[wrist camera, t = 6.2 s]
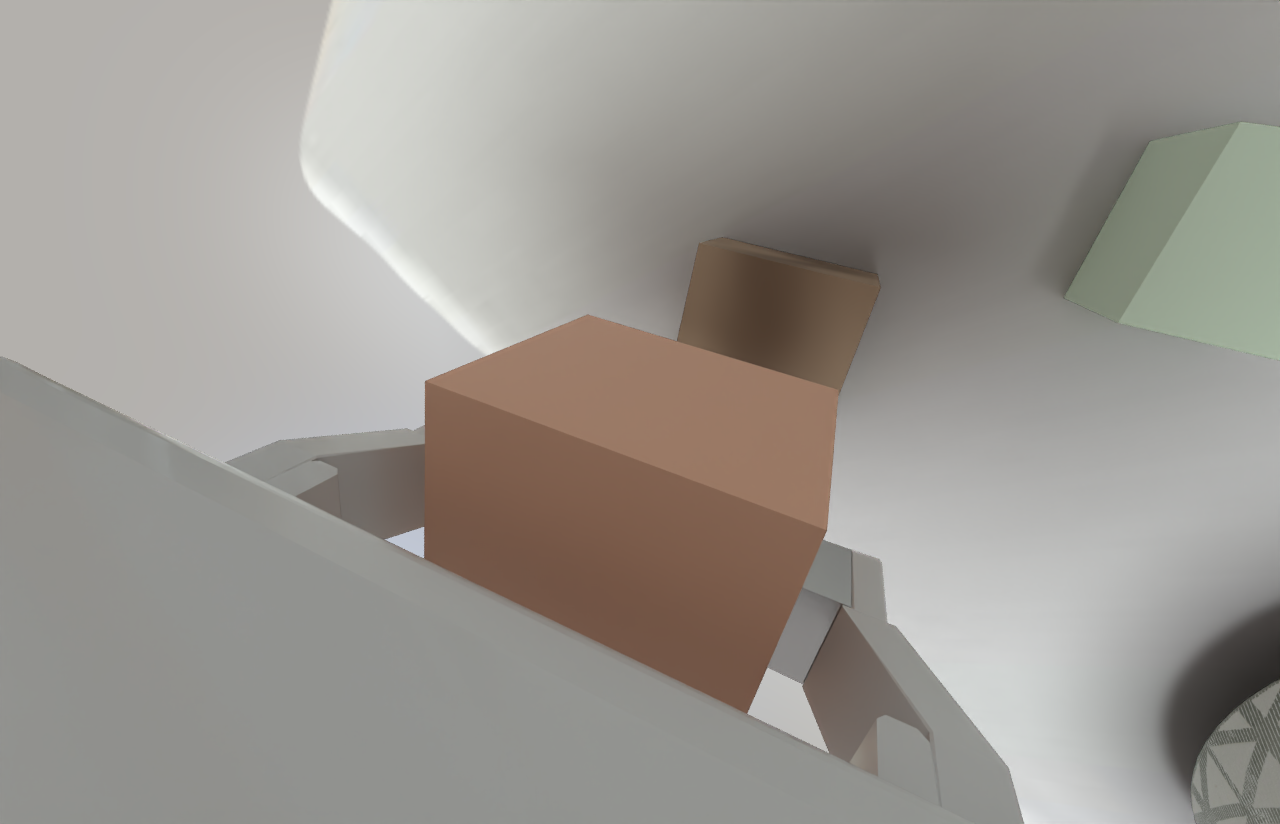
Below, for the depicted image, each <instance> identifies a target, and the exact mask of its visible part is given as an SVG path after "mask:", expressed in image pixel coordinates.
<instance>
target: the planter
mask: <svg viewBox="0 0 1280 824" xmlns="http://www.w3.org/2000/svg"><path fill="white" fill-rule="evenodd" d="M1191 803H1192V809H1193V813H1194V818H1195V822H1196V824H1280V679H1279V680H1277V681H1275V682H1273V683H1271V684H1269V685H1268V686H1266V687H1265V688H1263V689H1262V690H1260V691H1258V692H1257V693H1255V694H1254V695H1252V696H1251V697H1249V698H1248V699H1247V700H1245V701H1244V702H1243V703H1242V704H1240V705H1239V706H1238V707H1237V708H1235V709H1234V710H1233V711H1232V712H1231V713H1230V714H1229V715H1228V716H1227V717H1226V718H1225V719H1224V720H1223V721H1222V722H1221V723H1220V724H1219V725H1218V726H1217V727H1216V728H1215V730H1214V731H1213V732H1212V734H1211V735H1210V736H1209V738H1208V739H1207V741H1206V742H1205V744H1204V746H1203V748H1202V750H1201V752H1200V754H1199V755H1198V758H1197V761H1196V764H1195V767H1194V770H1193V775H1192V782H1191Z"/></svg>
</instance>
